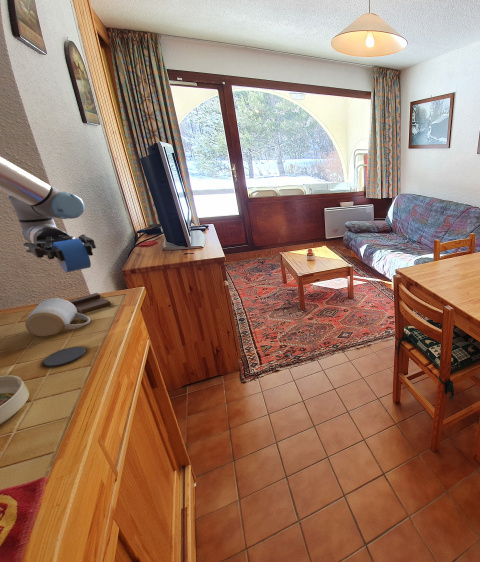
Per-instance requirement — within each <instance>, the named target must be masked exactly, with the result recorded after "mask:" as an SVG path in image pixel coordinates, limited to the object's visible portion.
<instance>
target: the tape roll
mask: <svg viewBox="0 0 480 562" xmlns="http://www.w3.org/2000/svg"><path fill="white" fill-rule="evenodd" d="M53 246H55V247H56V248H58V249H60V250H62V253H63V255H64V258H65V261H61V260H59V259H57V258H56V259H57V262H58V264H59V265H60V267H61V269H62V270H63V271H64V272H65V273H71V272H76V271H81V270H85V269H86V270H87V269H90V268H91V265H92V263H91V258H90V256H89V255H88V253H87V250H86V248H85V246H84V245H83V243H82V242H81V241H80V240H79V239H72V240H66V241H59V242H53Z"/></svg>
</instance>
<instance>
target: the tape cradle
mask: <svg viewBox="0 0 480 562" xmlns="http://www.w3.org/2000/svg"><path fill="white" fill-rule="evenodd" d="M68 301H69V302H71V303H72V304H73V305H74V306H75V307H76V309H77V311H79V313H80V314H86V313H89V312H93V311H95V310H98V309H102V308H105V307H109V306H111V305H112V303H111V301H110V300H108V299H103V298H102V297H101V294H100V293H98V292H94V293H90V294H86V295H83V296H79V297H76V298H73V299H68Z"/></svg>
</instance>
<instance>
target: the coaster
mask: <svg viewBox="0 0 480 562" xmlns="http://www.w3.org/2000/svg"><path fill="white" fill-rule="evenodd" d="M85 354H86V348H84V347H82V346H73V347H67V348H63V349H60V350H58V351H56V352H54V353H51V354H49V355H48V356H46V357H45V358H44V360H43V365H44V366H45V367H48V368H56V367H62V366H65V365H68V364H71V363H73V362H75V361H78V360H79V359H81V358H82V357H83V356H84V355H85Z"/></svg>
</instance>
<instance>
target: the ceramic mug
mask: <svg viewBox="0 0 480 562" xmlns="http://www.w3.org/2000/svg"><path fill="white" fill-rule="evenodd" d="M75 319H78V320H83V321H86V322H83V323H79V324H78V323H77V324H76V323H75V324H74V323H73V324H72V322H73V321H74V320H75ZM90 322H91V319H90V317H89V316H88V315H86V314H84V313H81V312H78V309H76V307H75V306H74V305H73V304H72V303H71V302H70V301H69V300H66V299H64V298H59V297H53V298H52V297H51V298H47V299H44V300H42V301H40V302H39V303H38V304H37V306H35V308H34V309H33V310H32V311H31V312H30V314H29V315H28V316H27V318H26V320H25V328H26V330H27V331H28V332H29V333H30V334H32V335H33V336H36V337H47V336H53V335H57V334H60V333H63V331H65V330H75V329H80V328H83V327H84V326H86V325H88V324H89V323H90Z"/></svg>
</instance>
